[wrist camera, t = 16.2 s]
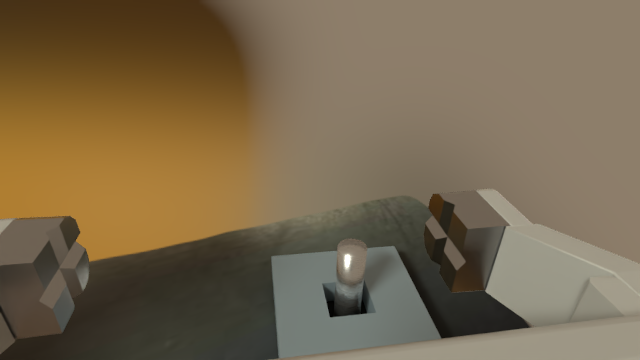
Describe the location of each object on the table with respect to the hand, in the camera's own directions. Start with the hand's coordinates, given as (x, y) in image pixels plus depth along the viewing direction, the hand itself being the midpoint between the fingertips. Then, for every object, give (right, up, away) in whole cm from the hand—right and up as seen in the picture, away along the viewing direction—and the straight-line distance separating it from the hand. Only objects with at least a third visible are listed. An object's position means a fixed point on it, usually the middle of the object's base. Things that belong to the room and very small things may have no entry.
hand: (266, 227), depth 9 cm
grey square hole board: (+4, -14, +36) cm, 39 cm away
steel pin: (+4, -15, +36) cm, 39 cm away
